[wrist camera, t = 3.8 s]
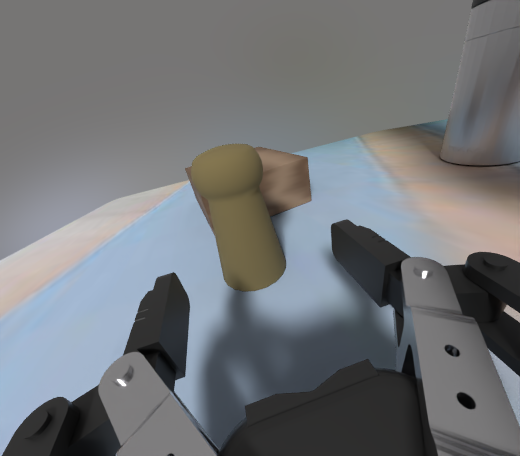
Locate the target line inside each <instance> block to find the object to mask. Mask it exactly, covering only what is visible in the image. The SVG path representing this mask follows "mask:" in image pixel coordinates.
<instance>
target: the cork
mask: <svg viewBox="0 0 520 456" xmlns="http://www.w3.org/2000/svg"><path fill="white" fill-rule="evenodd" d="M191 177H192V181H193V184H194V186H195V188H196V189H197V191H198V192H199V194H200V195H202V196H203V197H204V198H206V199H207V200H208V203H209V208H210V213H211V218H212V223H213V228H214V232H215V237H216V242H217V247H218V252H219V257H220V262H221V267H222V271H223V276H224V280H225V282H226V283H227V285H228V286H230V287H232V288H233V289H235V290H240V291H244V292H245V291H256V290H260V289H263V288H266V287H268V286H270V285H271V284H273V283H275V282H276V281H277V280H278V279H279V278H280V277H281V276H282V275H283V273H284V271H285V268H286V260H285V257H284V254H283V252H282V249H281V246H280V243H279V240H278V238H277V235H276V232H275V229H274V227H273V224H272V221H271V218H270V215H269V213H268V210H267V207H266V204H265V201H264V199H263V196H262V193H261V190H260V188H259V186H260V183H261V181H262V178H263V165H262V160H261V158H260V156H259V154H258V153H257V151H256V150H255V149H254V148H253V147H252V146H249V145H247V144H228V145H222V146H218V147H215V148H212V149H210V150H208V151H205V152H204V153H202V154H200V155H198V156H197V157H196V158H195V159H194V160H193V162H192V167H191Z"/></svg>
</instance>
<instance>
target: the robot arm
mask: <svg viewBox="0 0 520 456" xmlns="http://www.w3.org/2000/svg"><path fill="white" fill-rule="evenodd" d="M440 158H441V159H443V160H445V161H447V162H451V163H456V164H464V165H500V164H509V163H514V162H519V161H520V0H473V3H472V10H471V14H470V19H469V23H468V28H467V33H466V37H465V43H464V47H463V52H462V57H461V61H460V66H459V71H458V76H457V80H456V84H455V89H454V94H453V99H452V103H451V108H450V112H449V117H448V122H447V126H446V131H445V135H444V140H443V145H442V149H441V154H440ZM331 237H332V251H333V254H334V256H335V258H336V259H337V261H338V262H339V263H340V264H341V265H342V266H343V267H344V268H345V269H346V270H347V272H348V273H349V274H350V275H351V276H352V277H353V278H354V279H355V280H356V281H357V283H358V284H359V285H360V286H361V287H362V288H363V289H364V290H365V291H366V292H367V293H368V295H369V296H370V297H371V298H372V299H373V300H374V301H375V302H376V303H377V304H378V306H379V307H383V306H386V305H388V304H390V305H391V306H392V307H393V308H394V310H393V318H394V331H395V344H396V371H395V370H390V369H382V368H374V367H373V366H372V364H371V363H370V361H369V360H368V359H366V360H364V361H361V362H358V363H356V364H353V365H351V366H348V367H345V368H343V369H340V370H338V371H337V372H336V373H335V374H333V375H332V376H331V377H330V378H328V379H327V380H326V381H325V382H324V383H322V384H321V385H320V386H319V387H317V388H316V389H315V390H313V391H311V392H300V393H283V394H275V395H272V396H270V397H267V398H265V399H262V400H259V401H257V402H254V403H252V404H249V405H246V406H245V410H246V418H245V419H244V420H242V421H241V422H240V423H239V424H238V425H237V426H236V427H235V428H234V430H233V431H232V432H231V434H230V435H229V436H228V438H227V439H226V441H225V442H224V444H223V445H222V447H221V449H219V448H218V447H217V445H216V444H215V443H214V441H213V440H212V439H211V438H210V437H209V435H208V434H207V433H206V432H205V430H204V429H203V428H202V427H201V425H200V424H199V423H198V421H197V420H196V419H195V418H194V416H193V415H192V414H191V412H190V411H189V410H188V408H187V407H186V406H185V405H184V403H183V402H182V401H181V399H180V398H179V397H178V395H177V394H176V393H175V392H174V386H175V380H177V379H180V378H183V377H185V371H186V356H187V342H188V327H189V312H190V303H189V298H188V296H187V293H186V292H185V290H184V288H183V286H182V284H181V282H180V280H179V279H178V277H177V275H176V274H175V273H174V272H173V273H170V274H167V275H164V276H160V277H158V278H157V279H156V282H155V285H154V289H153V290H152V291H149V292H148V293H147V294H146V295H145V297H144V298H143V299H142V301H141V303H140V306H139V309H138V313H137V315H136V318H135V322H134V324H133V327H132V330H131V333H130V336H129V339H128V342H127V345H126V348H125V351H124V354H123V356H122V357H120V358H119V359H117V360H116V361H115V362H114V363H113V364H112V365H111V366H110V367H109V368H108V369H107V370H106V372H105V373H104V375H103V376H102V378H101V381H100V383H99V385H98V386H96V387H95V388H93V389H91V390H90V391H88V392H87V393H85V394H84V395H82V396H80V397H79V398H77V399H76V400H74V401H73V402H70V401H69V400H67V399H66V398H64V397H57V398H53V399H51V400H49V401H47V402H45V403H44V404H42V405H41V406H39V407H38V408H37V409H36V410H34V411H33V412H32V413H31V414H30V415H29V416H28V417H27V418H26V419H25V420H24V421H23V423H22V424H21V425H20V426H19V428H18V429H17V430H16V432H15V433H14V435H13V437H12V438H11V440H10V442H9V444H8V446H7V447H6V449H5V451H4V453H3V455H2V456H116V453H117V456H520V426H519V424H518V421H517V419H516V417H515V414H514V412H513V409H512V407H511V404H510V402H509V399H508V397H507V394H506V392H505V390H504V387H503V385H502V382H501V380H500V377H499V375H498V372H497V370H496V368H495V365H494V363H493V360H492V358H491V355H490V353H489V350H490V351H491V352H493V353H494V354H495V355H496V356H497V357H498V358H499V359H500V360H502V361H503V362H504V363H505V364H506V365H507V366H508V367H509V368H511V369H512V370H513V371H514V372H515V373H516V374H517V375H519V376H520V323H519V322H518V321H517V320H515V319H514V318H512V317H511V316H510V315H508V314H507V313H505V312H504V309H505V307H506V305H509V306H510V307H512V308H513V309H515V310H516V311H518V312H519V313H520V263H519V262H517V261H515V260H513V259H511V258H509V257H506V256H503V255H500V254H496V253H490V252H477V253H473V254H471V255H469V256H468V258H467V261H466V264H464V265H450V266H442V265H441V264H440V263H438V262H436V261H434V260H431V259H428V258H423V257H410V256H408V255H407V254H406V253H404V252H403V251H401V250H400V249H398V248H397V247H395V246H394V245H393V244H391V243H390V242H388V241H385V239H384V238H382V237H381V236H379V235H378V234H377V233H375V232H374V231H372V230H371V229H368V228H366V227H363V226H356V225H355V224H353V223H352V222H351V221H349V220H343V221H340V222H337V223H333V224H332V225H331ZM488 349H489V350H488Z"/></svg>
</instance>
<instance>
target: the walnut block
mask: <svg viewBox="0 0 520 456" xmlns="http://www.w3.org/2000/svg"><path fill="white" fill-rule="evenodd" d="M254 149H255V150H256V151H257V153H258V154H259V156H260V158H261V160H262V165H263V178H262V181H261V183H260V186H259V188H260V190H261V193H262V196H263V199H264V201H265V204H266V207H267V210H268V213H269V215H270V217H271V216H273V215H276V214H278V213H281V212H284V211H286V210H289V209H291V208H294V207H296V206H299V205H302V204H304V203H307V202H309V201H311V191H310V180H309V169H308V158H307V157H304V156H299V155H294V154H289V153H285V152H281V151H276V150H271V149H267V148H262V147H256V148H254ZM191 167H192V166H191ZM191 167H188V168H185V170H186V172H187V175H188V178H189V180H190V183H191V186H192V188H193V191H194V193H195V196H196V199H197V201H198V203H199V205H200V207H201V209H202V211H203V213H204V215H205V217H206V219H207V221H208V223H209V225H210V227H211V229H212V231H213V233H214V235H215V232H214V228H213V223H212V218H211V213H210V208H209V203H208V200H207V199H206V198H204V197H203V196H202V195H200V194H199V192H198V191H197V189H196V188H195V186H194V184H193V181H192V177H191Z"/></svg>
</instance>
